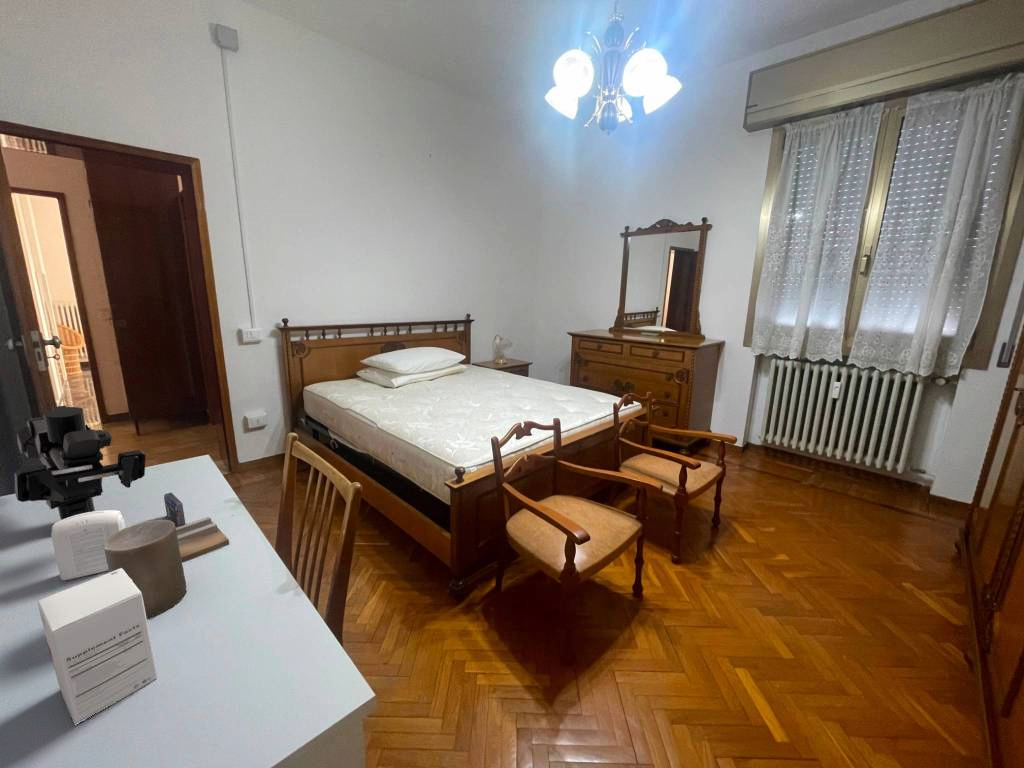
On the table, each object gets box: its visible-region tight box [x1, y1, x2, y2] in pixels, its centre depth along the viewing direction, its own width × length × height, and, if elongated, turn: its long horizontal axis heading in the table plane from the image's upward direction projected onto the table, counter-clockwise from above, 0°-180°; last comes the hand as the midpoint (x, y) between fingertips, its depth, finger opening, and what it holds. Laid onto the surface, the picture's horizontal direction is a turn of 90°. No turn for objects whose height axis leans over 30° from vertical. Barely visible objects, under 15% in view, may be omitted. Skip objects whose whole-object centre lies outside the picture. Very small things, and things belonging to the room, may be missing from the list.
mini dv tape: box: [163, 492, 187, 528], centre depth 101 cm, size 8×2×6 cm, turn 53°
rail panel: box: [176, 516, 230, 564], centre depth 92 cm, size 14×12×3 cm
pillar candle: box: [103, 519, 188, 619], centre depth 75 cm, size 10×10×15 cm
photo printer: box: [50, 509, 126, 581], centre depth 83 cm, size 10×4×12 cm, turn 123°
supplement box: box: [37, 568, 158, 725], centre depth 59 cm, size 9×9×15 cm
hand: (98, 491), depth 82 cm, fingers open, 9 cm apart
